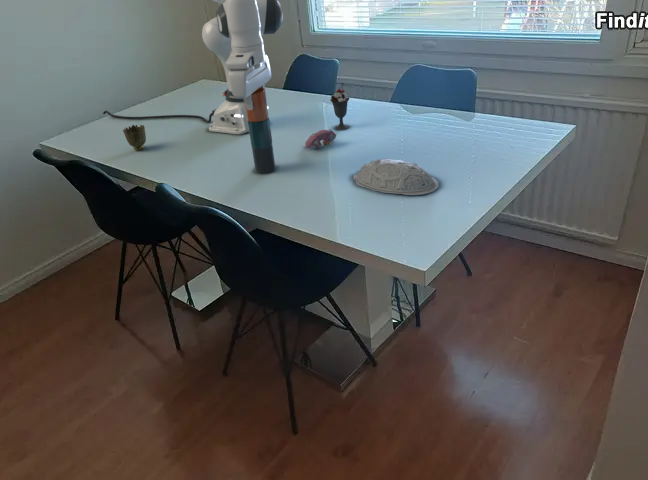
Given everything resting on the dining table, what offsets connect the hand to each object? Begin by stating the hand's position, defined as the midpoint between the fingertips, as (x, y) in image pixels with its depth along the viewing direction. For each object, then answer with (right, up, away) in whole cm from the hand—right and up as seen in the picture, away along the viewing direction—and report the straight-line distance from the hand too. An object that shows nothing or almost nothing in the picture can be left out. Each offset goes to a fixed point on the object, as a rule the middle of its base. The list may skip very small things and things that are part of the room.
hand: (256, 105), depth 159 cm
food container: (+39, -23, -5) cm, 46 cm away
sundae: (+28, +3, +36) cm, 45 cm away
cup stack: (+2, -17, +11) cm, 20 cm away
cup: (0, -3, +2) cm, 4 cm away
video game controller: (+20, -7, +23) cm, 31 cm away
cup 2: (-45, -5, +38) cm, 59 cm away
